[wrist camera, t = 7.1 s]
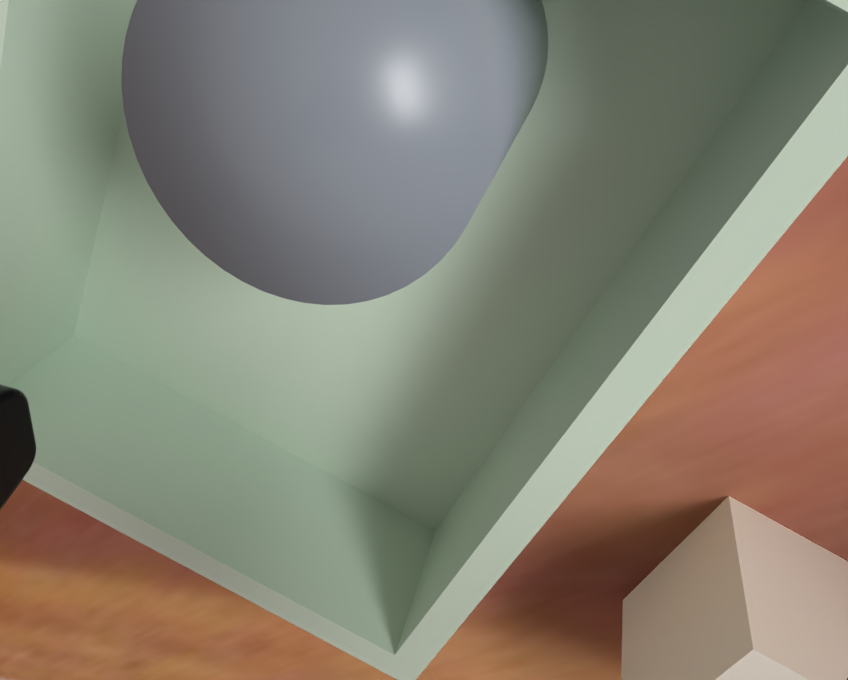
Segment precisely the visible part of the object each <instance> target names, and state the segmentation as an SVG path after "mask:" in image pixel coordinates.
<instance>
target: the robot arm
mask: <svg viewBox="0 0 848 680" xmlns="http://www.w3.org/2000/svg"><path fill="white" fill-rule="evenodd" d="M35 455H36V441H35V436H34V430H33V425H32V420H31V414H30V409H29V403H28V400H27V397H26V396H25V395H24V393H23V392H22V391H20V390H18V389H15V388H12V387H8V386H5V385H1V384H0V510H1V508H2V507H3V506H4V504H5V503H6V501H7V500H8V499H9V497H10V496H11V494H12V493H13V492H14V490H15V489H16V488H17V486H18V485H19V483H20V482H21V481H22V479H23V478H24V477H25V475H26V474H27V472H28V471H29V469H30V468H31V466H32V464H33V461H34V459H35ZM847 680H848V678H847Z"/></svg>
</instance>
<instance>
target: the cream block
mask: <svg viewBox="0 0 848 680" xmlns="http://www.w3.org/2000/svg"><path fill="white" fill-rule="evenodd" d="M847 678H848V561H846V560H844V559H843V558H841V557H839V556H837V555H835V554H833V553H832V552H830V551H828V550H826V549H824V548H823V547H821V546H819V545H817V544H815V543H813V542H812V541H810V540H808V539H806V538H804V537H803V536H801V535H799V534H797V533H795V532H793V531H792V530H790V529H788V528H786V527H784V526H783V525H781V524H779V523H777V522H775V521H773V520H772V519H770V518H768V517H766V516H764V515H763V514H761V513H759V512H757V511H755V510H753V509H752V508H750V507H748V506H746V505H744V504H743V503H741V502H739V501H737V500H735V499H733V498H732V497H730V496H728V497H727V498H726V499H725V500H724V501H723V502H722V503H721V504H720V505H719V506H718V507H717V508H716V509H715V510H714V511H713V512H712V513H711V514H710V515H709V516H708V517H707V518H706V519H705V520H704V521H703V522H702V523H701V524H700V525H699V526H698V527H697V528H696V529H695V530H694V531H692V532H691V533H690V534H689V535H688V536H687V537H686V538H685V539H684V540H683V541H682V542H681V543H680V544H679V545H678V546H677V547H676V548H675V549H674V550H673V551H672V552H671V553H670V554H669V555H668V556H667V557H666V558H665V559H664V560H663V561H662V562H661V563H660V564H659V565H658V566H657V567H656V568H655V569H654V570H653V571H652V572H651V573H650V574H649V575H648V576H647V577H646V578H645V579H644V580H643V581H642V582H641V583H640V584H639V585H638V586H636V587H635V588H634V589H633V590H632V591H631V592H630V593H629V594H628V595H627V596H626V597H625V598H624V599H623V615H622V665H621V680H847Z"/></svg>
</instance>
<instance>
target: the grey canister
mask: <svg viewBox="0 0 848 680" xmlns="http://www.w3.org/2000/svg"><path fill="white" fill-rule="evenodd" d="M547 57H548V30H547V21H546V16H545V11H544V7H543V3H542V0H137V2H136V4H135V7H134V9H133V11H132V14H131V18H130V22H129V25H128V29H127V32H126V36H125V43H124V50H123V57H122V82H121V86H122V97H123V107H124V114H125V118H126V123H127V128H128V133H129V137H130V140H131V143H132V146H133V149H134V152H135V155H136V158H137V161H138V163H139V165H140V167H141V170H142V172H143V174H144V177H145V179H146V181H147V183H148V185H149V186H150V188H151V190H152V192H153V193H154V195H155V197H156V199H157V200H158V202H159V204H160V205H161V206H162V208H163V209H164V211H165V212H166V213H167V215H168V216H169V218H170V219H171V221H172V222H173V223H174V224H175V225H176V227H177V228H178V229H179V230H180V231H181V232H182V233H183V235H184V236H185V237H186V238H187V239H188V240H189V241H190V242H191V243H192V244H193V245H194V246H195V247H196V248H197V249H198V250H199V251H200V252H202V253H203V254H204V255H205V256H206V257H207V258H209V259H210V260H211V261H212V262H214V263H215V264H216V265H218V266H219V267H220V268H222V269H223V270H224V271H226V272H228V273H229V274H231V275H233V276H234V277H236V278H237V279H239V280H241V281H242V282H244V283H247V284H249V285H251V286H253V287H255V288H257V289H259V290H261V291H264V292H267V293H269V294H272V295H275V296H278V297H281V298H284V299H289V300H293V301H298V302H302V303H310V304H320V305H346V304H353V303H359V302H365V301H370V300H373V299H376V298H380V297H383V296H386V295H389V294H391V293H393V292H395V291H397V290H400V289H402V288H404V287H406V286H408V285H409V284H411V283H412V282H414V281H416V280H417V279H419V278H420V277H422V276H423V275H425V274H426V273H427V272H428V271H429V270H430V269H432V268H433V267H434V266H435V265H436V264H437V263H439V262H440V261H441V260H442V259H443V257H444V256H445V255H446V254H447V253H448V252H449V250H450V249H451V248H452V247H453V246H454V245H455V243H456V242H457V240H458V239H459V237H460V236H461V234H462V233H463V231H464V229H465V228H466V226H467V225H468V223H469V221H470V219H471V218H472V216H473V214H474V212H475V210H476V208H477V207H478V205H479V203H480V201H481V199H482V198H483V196H484V194H485V192H486V190H487V189H488V187H489V185H490V183H491V181H492V179H493V178H494V176H495V174H496V172H497V170H498V169H499V167H500V165H501V163H502V161H503V160H504V158H505V156H506V154H507V152H508V151H509V149H510V147H511V145H512V143H513V141H514V140H515V138H516V136H517V134H518V132H519V131H520V129H521V127H522V125H523V123H524V122H525V120H526V118H527V116H528V114H529V112H530V111H531V109H532V107H533V105H534V103H535V100H536V98H537V96H538V94H539V91H540V88H541V85H542V82H543V79H544V75H545V70H546V64H547Z"/></svg>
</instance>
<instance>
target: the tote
mask: <svg viewBox="0 0 848 680" xmlns="http://www.w3.org/2000/svg"><path fill="white" fill-rule="evenodd" d="M136 2H137V0H0V384H1V385H5V386H8V387H12V388H15V389H18V390H20V391H22V392H23V393H24V395H25V396H26V397H27V400H28V403H29V409H30V414H31V420H32V425H33V430H34V436H35V441H36V455H35V459H34V461H33V464H32V466H31V468H30V469H29V471H28V472H27V474H26V475H25V477H24V478H23V479H22V480H24V481H26V482H28V483H30V484H31V485H33V486H35V487H37V488H39V489H41V490H43V491H45V492H46V493H48V494H50V495H52V496H54V497H56V498H58V499H60V500H61V501H63V502H65V503H67V504H69V505H71V506H73V507H75V508H76V509H78V510H80V511H82V512H84V513H86V514H88V515H90V516H91V517H93V518H95V519H97V520H99V521H101V522H103V523H105V524H106V525H108V526H110V527H112V528H114V529H116V530H118V531H120V532H121V533H123V534H125V535H127V536H129V537H131V538H133V539H135V540H136V541H138V542H140V543H142V544H144V545H146V546H148V547H150V548H151V549H153V550H155V551H157V552H159V553H161V554H163V555H165V556H166V557H168V558H170V559H172V560H174V561H176V562H178V563H179V564H181V565H183V566H185V567H187V568H189V569H191V570H193V571H194V572H196V573H198V574H200V575H202V576H204V577H206V578H208V579H209V580H211V581H213V582H215V583H217V584H219V585H221V586H223V587H224V588H226V589H228V590H230V591H232V592H234V593H236V594H238V595H239V596H241V597H243V598H245V599H247V600H249V601H251V602H253V603H254V604H256V605H258V606H260V607H262V608H264V609H266V610H268V611H269V612H271V613H273V614H275V615H277V616H279V617H281V618H283V619H284V620H286V621H288V622H290V623H292V624H294V625H296V626H298V627H299V628H301V629H303V630H305V631H307V632H309V633H311V634H313V635H314V636H316V637H318V638H320V639H322V640H324V641H326V642H328V643H329V644H331V645H333V646H335V647H337V648H339V649H341V650H343V651H344V652H346V653H348V654H350V655H352V656H354V657H356V658H358V659H359V660H361V661H363V662H365V663H367V664H369V665H371V666H373V667H374V668H376V669H378V670H380V671H382V672H384V673H386V674H388V675H389V676H391V677H393V678H395V679H397V680H416V679H417V678H418V676H419V675H420V674H421V673H422V671H423V670H424V669H425V668H426V667H427V665H428V664H429V663H430V662H431V661H432V659H433V658H434V657H435V656H436V655H437V653H438V652H439V651H440V650H441V648H442V647H443V646H444V645H445V644H446V642H447V641H448V640H449V639H450V638H451V636H452V635H453V634H454V633H455V631H456V630H457V629H458V628H459V627H460V625H461V624H462V623H463V622H464V621H465V619H466V618H467V617H468V616H469V614H470V613H471V612H472V611H473V610H474V608H475V607H476V606H477V605H478V604H479V602H480V601H481V600H482V599H483V598H484V596H485V595H486V594H487V593H488V591H489V590H490V589H491V588H492V587H493V585H494V584H495V583H496V582H497V581H498V579H499V578H500V577H501V576H502V574H503V573H504V572H505V571H506V570H507V568H508V567H509V566H510V565H511V564H512V562H513V561H514V560H515V559H516V557H517V556H518V555H519V554H520V553H521V551H522V550H523V549H524V548H525V547H526V545H527V544H528V543H529V542H530V541H531V539H532V538H533V537H534V536H535V534H536V533H537V532H538V531H539V530H540V528H541V527H542V526H543V525H544V524H545V522H546V521H547V520H548V519H549V517H550V516H551V515H552V514H553V513H554V511H555V510H556V509H557V508H558V507H559V505H560V504H561V503H562V502H563V500H564V499H565V498H566V497H567V496H568V494H569V493H570V492H571V491H572V490H573V488H574V487H575V486H576V485H577V484H578V482H579V481H580V480H581V479H582V477H583V476H584V475H585V474H586V473H587V471H588V470H589V469H590V468H591V467H592V465H593V464H594V463H595V462H596V460H597V459H598V458H599V457H600V456H601V454H602V453H603V452H604V451H605V450H606V448H607V447H608V446H609V445H610V443H611V442H612V441H613V440H614V439H615V437H616V436H617V435H618V434H619V433H620V431H621V430H622V429H623V428H624V426H625V425H626V424H627V423H628V422H629V420H630V419H631V418H632V417H633V416H634V414H635V413H636V412H637V411H638V410H639V408H640V407H641V406H642V405H643V403H644V402H645V401H646V400H647V399H648V397H649V396H650V395H651V394H652V393H653V391H654V390H655V389H656V388H657V386H658V385H659V384H660V383H661V382H662V380H663V379H664V378H665V377H666V376H667V374H668V373H669V372H670V371H671V369H672V368H673V367H674V366H675V365H676V363H677V362H678V361H679V360H680V359H681V357H682V356H683V355H684V354H685V353H686V351H687V350H688V349H689V348H690V346H691V345H692V344H693V343H694V342H695V340H696V339H697V338H698V337H699V336H700V334H701V333H702V332H703V331H704V329H705V328H706V327H707V326H708V325H709V323H710V322H711V321H712V320H713V319H714V317H715V316H716V315H717V314H718V312H719V311H720V310H721V309H722V308H723V306H724V305H725V304H726V303H727V302H728V300H729V299H730V298H731V297H732V296H733V294H734V293H735V292H736V291H737V289H738V288H739V287H740V286H741V285H742V283H743V282H744V281H745V280H746V279H747V277H748V276H749V275H750V274H751V272H752V271H753V270H754V269H755V268H756V266H757V265H758V264H759V263H760V262H761V260H762V259H763V258H764V257H765V255H766V254H767V253H768V252H769V251H770V249H771V248H772V247H773V246H774V245H775V243H776V242H777V241H778V240H779V239H780V237H781V236H782V235H783V234H784V232H785V231H786V230H787V229H788V228H789V226H790V225H791V224H792V223H793V222H794V220H795V219H796V218H797V217H798V215H799V214H800V213H801V212H802V211H803V209H804V208H805V207H806V206H807V205H808V203H809V202H810V201H811V200H812V198H813V197H814V196H815V195H816V194H817V192H818V191H819V190H820V189H821V188H822V186H823V185H824V184H825V183H826V182H827V180H828V179H829V178H830V177H831V175H832V174H833V173H834V172H835V171H836V169H837V168H838V167H839V166H840V165H841V163H842V162H843V161H844V160H845V158H846V157H847V156H848V0H542V3H543V7H544V11H545V16H546V21H547V30H548V57H547V64H546V70H545V75H544V79H543V82H542V85H541V88H540V91H539V94H538V96H537V98H536V100H535V103H534V105H533V107H532V109H531V111H530V112H529V114H528V116H527V118H526V120H525V122H524V123H523V125H522V127H521V129H520V131H519V132H518V134H517V136H516V138H515V140H514V141H513V143H512V145H511V147H510V149H509V151H508V152H507V154H506V156H505V158H504V160H503V161H502V163H501V165H500V167H499V169H498V170H497V172H496V174H495V176H494V178H493V179H492V181H491V183H490V185H489V187H488V189H487V190H486V192H485V194H484V196H483V198H482V199H481V201H480V203H479V205H478V207H477V208H476V210H475V212H474V214H473V216H472V218H471V219H470V221H469V223H468V225H467V226H466V228H465V229H464V231H463V233H462V234H461V236H460V237H459V239H458V240H457V242H456V243H455V245H454V246H453V247H452V248H451V249H450V250H449V252H448V253H447V254H446V255H445V256H444V257H443V259H442V260H441V261H440V262H439V263H437V264H436V265H435V266H434V267H433V268H432V269H430V270H429V271H428V272H427V273H426V274H425V275H423V276H422V277H420V278H419V279H417V280H416V281H414V282H412V283H411V284H409V285H408V286H406V287H404V288H402V289H400V290H397V291H395V292H393V293H391V294H389V295H386V296H383V297H380V298H376V299H373V300H370V301H365V302H359V303H353V304H346V305H320V304H310V303H302V302H298V301H293V300H289V299H284V298H281V297H278V296H275V295H272V294H269V293H267V292H264V291H261V290H259V289H257V288H255V287H253V286H251V285H249V284H247V283H244V282H242V281H241V280H239V279H237V278H236V277H234V276H233V275H231V274H229V273H228V272H226V271H224V270H223V269H222V268H220V267H219V266H218V265H216V264H215V263H214V262H212V261H211V260H210V259H209V258H207V257H206V256H205V255H204V254H203V253H202V252H200V251H199V250H198V249H197V248H196V247H195V246H194V245H193V244H192V243H191V242H190V241H189V240H188V239H187V238H186V237H185V236H184V235H183V233H182V232H181V231H180V230H179V229H178V228H177V227H176V225H175V224H174V223H173V222H172V221H171V219H170V218H169V216H168V215H167V213H166V212H165V211H164V209H163V208H162V206H161V205H160V204H159V202H158V200H157V199H156V197H155V195H154V193H153V192H152V190H151V188H150V186H149V185H148V183H147V181H146V179H145V177H144V174H143V172H142V170H141V167H140V165H139V163H138V161H137V158H136V155H135V152H134V149H133V146H132V143H131V140H130V137H129V133H128V128H127V123H126V118H125V114H124V107H123V97H122V86H121V82H122V57H123V50H124V43H125V36H126V32H127V29H128V25H129V22H130V18H131V14H132V11H133V9H134V7H135V4H136Z"/></svg>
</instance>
